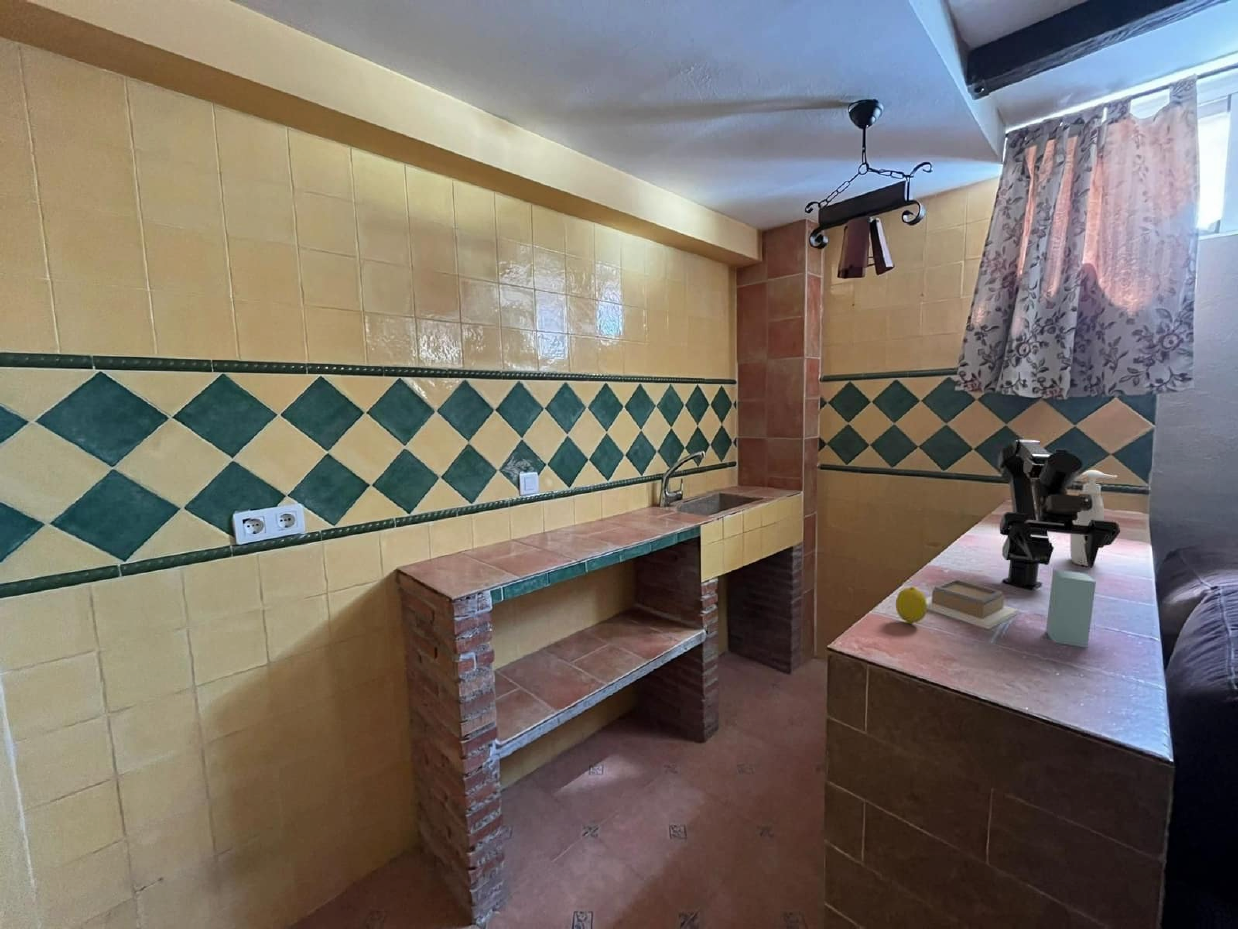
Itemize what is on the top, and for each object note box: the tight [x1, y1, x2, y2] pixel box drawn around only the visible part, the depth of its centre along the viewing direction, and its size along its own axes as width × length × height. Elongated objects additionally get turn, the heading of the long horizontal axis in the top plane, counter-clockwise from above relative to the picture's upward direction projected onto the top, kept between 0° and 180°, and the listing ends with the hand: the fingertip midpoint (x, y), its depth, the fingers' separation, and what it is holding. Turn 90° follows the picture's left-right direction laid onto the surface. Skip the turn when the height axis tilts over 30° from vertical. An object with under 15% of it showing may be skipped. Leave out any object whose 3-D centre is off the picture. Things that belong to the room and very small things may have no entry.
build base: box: [925, 578, 1018, 630], centre depth 111 cm, size 14×14×5 cm
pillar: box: [1045, 569, 1097, 649], centre depth 97 cm, size 5×5×13 cm
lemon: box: [895, 586, 928, 625], centre depth 104 cm, size 6×6×8 cm
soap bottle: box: [1069, 469, 1118, 567], centre depth 143 cm, size 14×8×27 cm, turn 139°
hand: (1061, 563), depth 103 cm, fingers open, 9 cm apart
